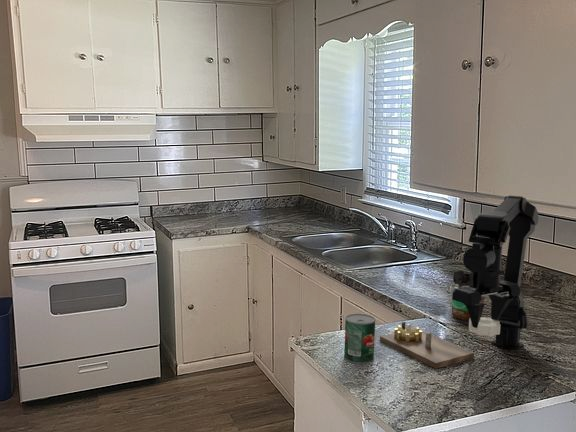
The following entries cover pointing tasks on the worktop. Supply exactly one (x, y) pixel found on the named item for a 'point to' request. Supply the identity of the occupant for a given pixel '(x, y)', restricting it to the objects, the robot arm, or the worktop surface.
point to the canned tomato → (359, 338)
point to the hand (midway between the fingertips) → (484, 325)
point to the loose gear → (486, 327)
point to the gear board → (430, 350)
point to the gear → (407, 333)
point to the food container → (460, 306)
